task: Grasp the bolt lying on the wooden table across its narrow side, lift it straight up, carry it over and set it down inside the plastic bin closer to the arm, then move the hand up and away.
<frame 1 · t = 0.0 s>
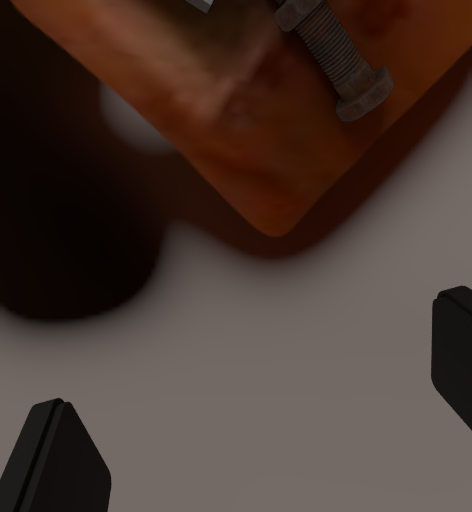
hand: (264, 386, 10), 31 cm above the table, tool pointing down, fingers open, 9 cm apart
bolt: (313, 36, 35), on the table
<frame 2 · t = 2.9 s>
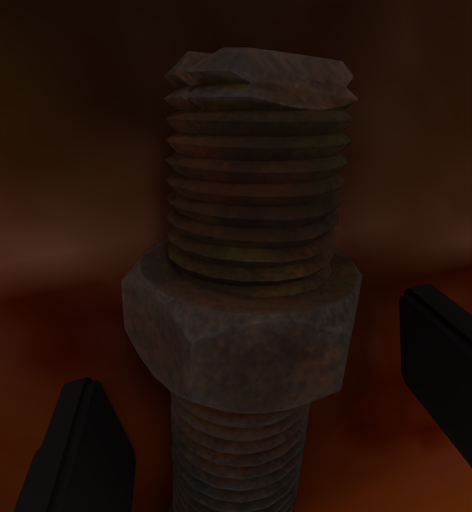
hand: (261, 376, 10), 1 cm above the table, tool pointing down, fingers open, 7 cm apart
bolt: (229, 347, 11), on the table
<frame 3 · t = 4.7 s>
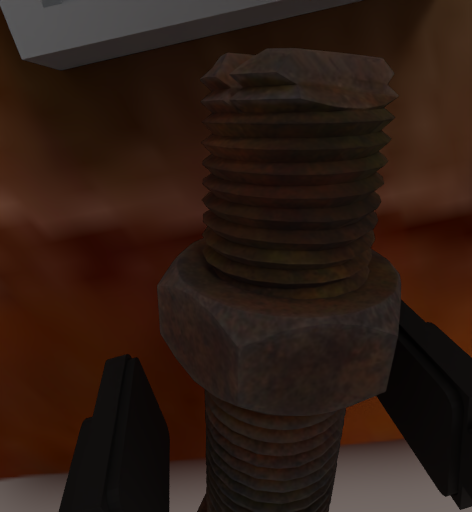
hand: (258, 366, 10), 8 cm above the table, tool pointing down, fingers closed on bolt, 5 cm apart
bolt: (256, 347, 11), point 7 cm above the table, touching gripper
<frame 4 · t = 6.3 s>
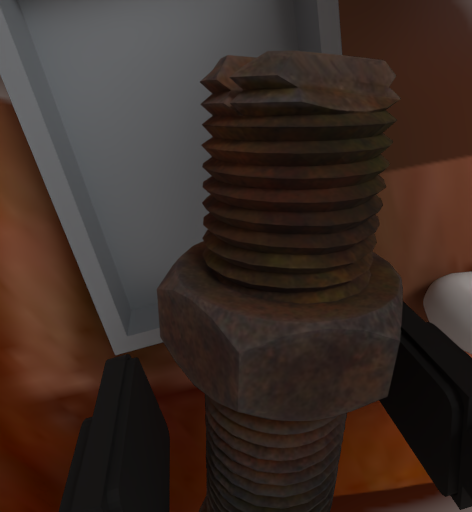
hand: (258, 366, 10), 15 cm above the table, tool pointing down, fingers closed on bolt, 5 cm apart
bin: (193, 134, 22), on the table
donut: (451, 282, 29), on the table
bolt: (256, 349, 11), point 14 cm above the table, touching gripper
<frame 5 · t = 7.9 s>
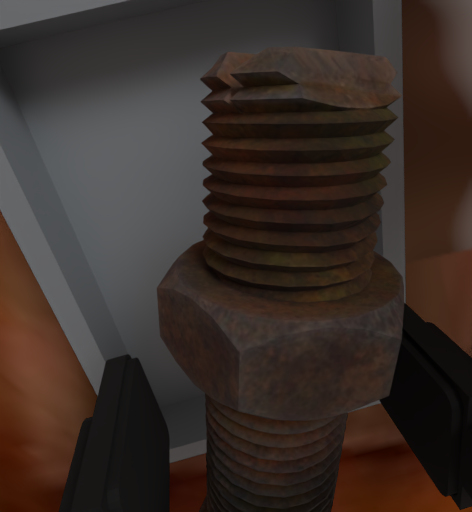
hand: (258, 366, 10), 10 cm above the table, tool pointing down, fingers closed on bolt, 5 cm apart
bin: (221, 229, 19), on the table
bolt: (257, 349, 11), point 9 cm above the table, touching gripper
when the fingers open (4 cm above the table, at t = 9.4 s): bolt drops 2 cm, resting on bin.
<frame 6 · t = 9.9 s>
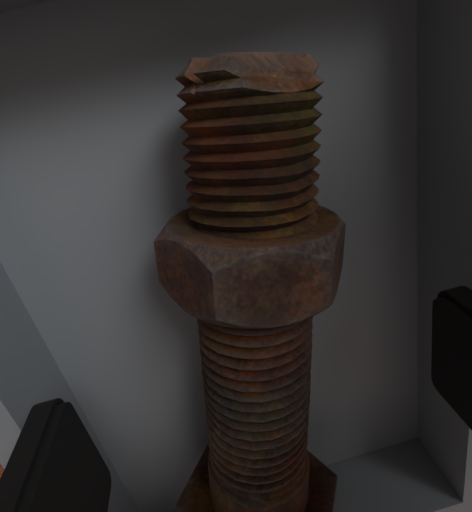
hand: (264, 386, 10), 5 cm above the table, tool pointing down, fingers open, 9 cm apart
bin: (235, 292, 14), on the table
bolt: (244, 303, 13), point 1 cm above the table, touching bin
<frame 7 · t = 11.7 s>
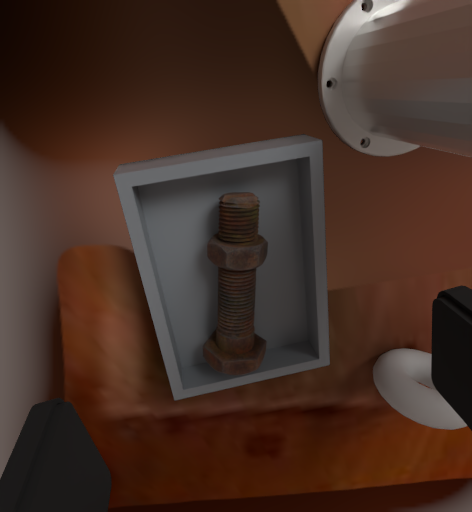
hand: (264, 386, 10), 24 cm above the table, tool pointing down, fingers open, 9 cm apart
bin: (231, 265, 35), on the table
donut: (395, 352, 43), on the table
bolt: (233, 270, 34), point 1 cm above the table, touching bin
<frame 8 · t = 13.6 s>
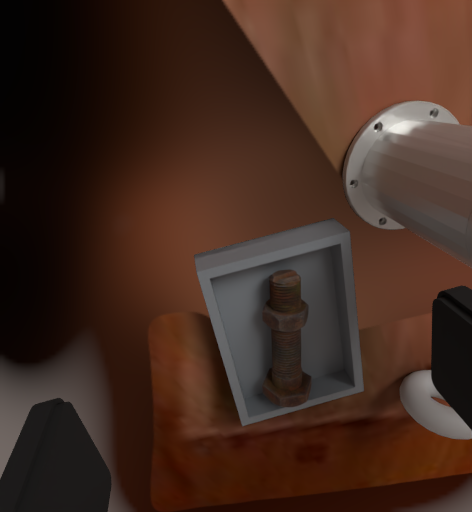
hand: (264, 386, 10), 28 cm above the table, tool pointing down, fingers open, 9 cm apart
bin: (280, 317, 44), on the table
donut: (417, 372, 51), on the table
bolt: (281, 323, 43), point 1 cm above the table, touching bin
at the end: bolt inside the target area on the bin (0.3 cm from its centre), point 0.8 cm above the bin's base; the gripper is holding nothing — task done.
